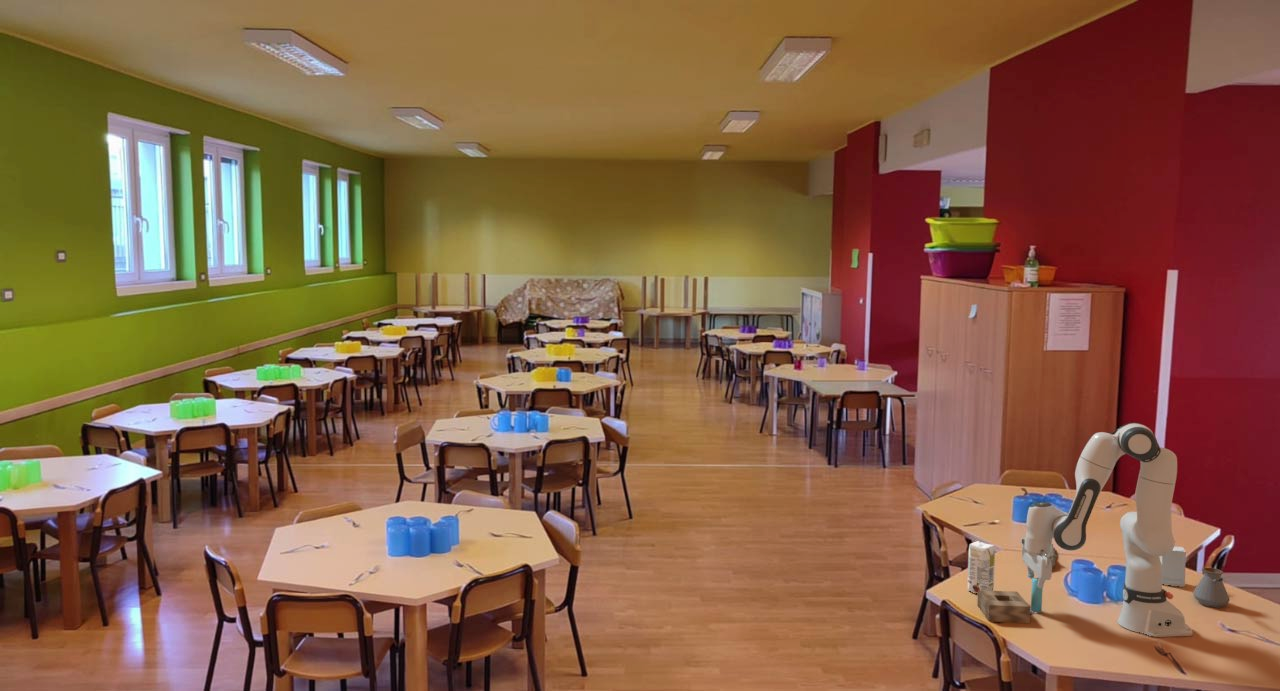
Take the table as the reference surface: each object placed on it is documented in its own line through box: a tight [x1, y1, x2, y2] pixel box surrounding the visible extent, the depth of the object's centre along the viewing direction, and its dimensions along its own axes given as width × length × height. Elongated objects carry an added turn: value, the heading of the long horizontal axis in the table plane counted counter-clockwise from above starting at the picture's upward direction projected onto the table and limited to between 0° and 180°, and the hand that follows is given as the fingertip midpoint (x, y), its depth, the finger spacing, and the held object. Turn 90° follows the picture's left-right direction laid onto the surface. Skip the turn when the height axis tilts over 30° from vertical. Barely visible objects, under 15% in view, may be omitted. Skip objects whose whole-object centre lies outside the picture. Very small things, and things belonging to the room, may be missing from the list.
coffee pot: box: [1192, 567, 1231, 609], centre depth 316 cm, size 21×12×15 cm, turn 156°
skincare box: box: [1159, 546, 1187, 588], centre depth 340 cm, size 8×6×15 cm
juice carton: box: [967, 540, 996, 595], centre depth 332 cm, size 8×9×19 cm
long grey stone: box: [1048, 543, 1058, 569], centre depth 370 cm, size 35×5×10 cm
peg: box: [1030, 577, 1044, 614], centre depth 314 cm, size 4×4×12 cm
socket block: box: [976, 590, 1031, 624], centre depth 311 cm, size 14×14×6 cm
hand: (1035, 582), depth 314 cm, fingers open, 8 cm apart
